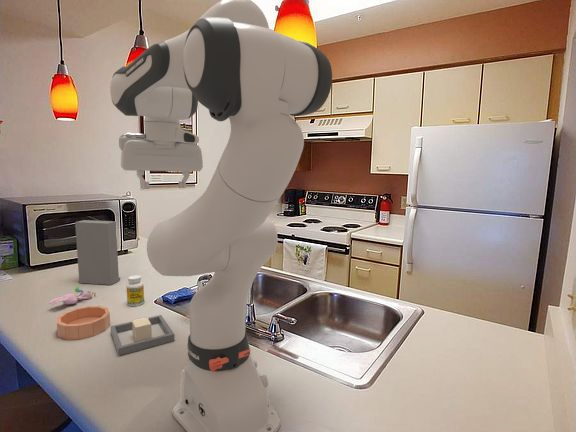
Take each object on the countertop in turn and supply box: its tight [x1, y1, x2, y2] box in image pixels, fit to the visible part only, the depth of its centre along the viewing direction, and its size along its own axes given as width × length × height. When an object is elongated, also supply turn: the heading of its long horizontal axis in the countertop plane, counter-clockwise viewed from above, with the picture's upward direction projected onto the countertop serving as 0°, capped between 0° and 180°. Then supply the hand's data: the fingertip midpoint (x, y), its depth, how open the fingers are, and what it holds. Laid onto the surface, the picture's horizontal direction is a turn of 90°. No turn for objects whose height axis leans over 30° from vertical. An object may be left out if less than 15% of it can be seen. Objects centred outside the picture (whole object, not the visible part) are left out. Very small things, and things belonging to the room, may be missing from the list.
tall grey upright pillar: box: [74, 219, 121, 286], centre depth 133 cm, size 14×6×25 cm, turn 84°
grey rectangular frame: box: [109, 314, 175, 357], centre depth 93 cm, size 14×14×2 cm
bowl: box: [56, 305, 111, 341], centre depth 97 cm, size 13×13×4 cm
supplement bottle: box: [126, 274, 145, 307], centre depth 115 cm, size 5×5×10 cm
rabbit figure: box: [48, 286, 97, 306], centre depth 114 cm, size 6×6×15 cm
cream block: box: [131, 316, 153, 342], centre depth 93 cm, size 5×4×4 cm
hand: (164, 188), depth 88 cm, fingers open, 8 cm apart
